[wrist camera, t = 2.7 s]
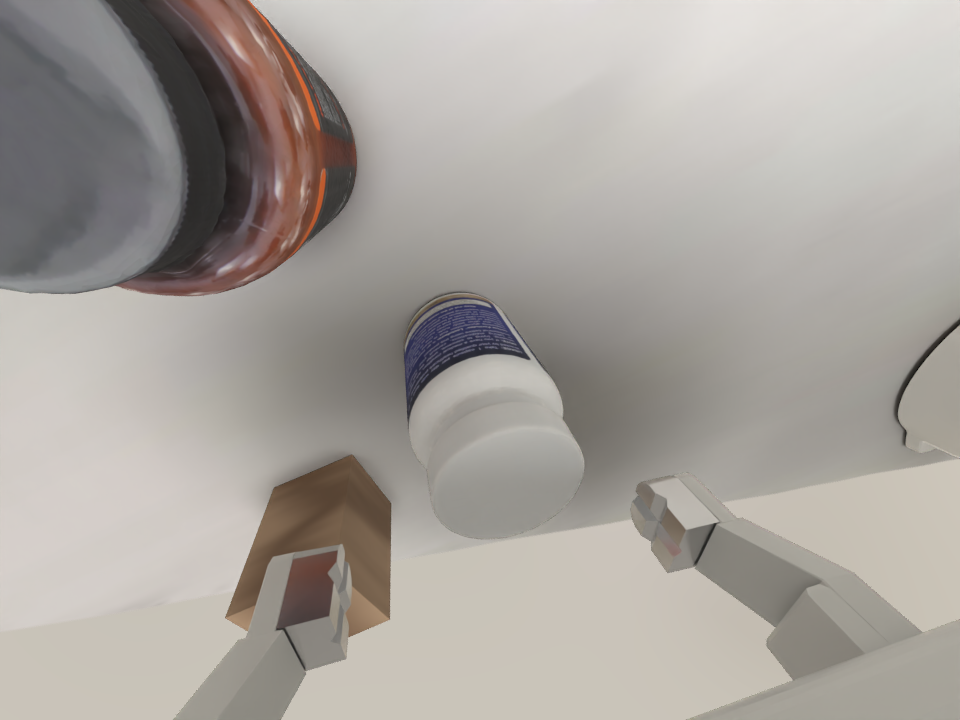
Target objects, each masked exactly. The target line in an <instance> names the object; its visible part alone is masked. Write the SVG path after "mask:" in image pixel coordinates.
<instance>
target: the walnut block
mask: <svg viewBox="0 0 960 720" xmlns="http://www.w3.org/2000/svg"><path fill="white" fill-rule="evenodd" d="M338 544H342V545H343V547H344V550H345V558H344V561H345V562H347V563H349V567H350V571H351V578H352V596H351V605H350V607H349V608H348V610H347V611H346V613H345V615H346V618H347V621H348V624H349V633H348V637H350V636H353V635H355V634H357V633H360V632H362V631H364V630H367V629H369V628H371V627H374V626H376V625H378V624H381V623H383V622H385V621H387V620H390V562H391V503H390V501H389V500H388V499H387V498H386V496H385V495H384V494H383V493H382V491H381V490H380V489H379V488H378V486H377V485H376V484H375V483H374V481H373V480H372V479H371V478H370V476H369V475H368V474H367V473H366V471H365V470H364V469H363V467H362V466H361V465H360V464H359V462H358V461H357V460H356V459H355V457H354V456H353V455H350V456H348V457H346V458H343V459H341V460H338V461H336V462H334V463H331V464H329V465H327V466H324V467H322V468H320V469H317V470H315V471H312V472H310V473H308V474H305V475H303V476H301V477H298V478H296V479H294V480H291V481H289V482H286V483H284V484H282V485H279V486H277V487H275V488H274V489H273V492H272V494H271V497H270V500H269V502H268V505H267V508H266V510H265V513H264V516H263V518H262V521H261V524H260V526H259V529H258V532H257V534H256V537H255V540H254V542H253V545H252V548H251V550H250V553H249V556H248V558H247V561H246V564H245V566H244V569H243V572H242V574H241V577H240V580H239V582H238V585H237V588H236V590H235V593H234V596H233V598H232V601H231V604H230V606H229V609H228V612H227V614H226V617H225V618H226V619H227V620H229V621H231V622H233V623H234V624H236V625H238V626H240V627H241V628H243V629H245V630H246V631H248V629H249V626H250V623H251V620H252V616H253V613H254V610H255V606H256V603H257V600H258V596H259V593H260V590H261V587H262V583H263V580H264V577H265V573H266V570H267V567H268V564H269V563H270V561H271V559H272V558H273V557H274V556H279V555H284V554H289V553H294V552H300V551H306V550H311V549H316V548H322V547H327V546H332V545H338Z"/></svg>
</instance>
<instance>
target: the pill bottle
mask: <svg viewBox="0 0 960 720" xmlns="http://www.w3.org/2000/svg"><path fill="white" fill-rule="evenodd" d="M404 362H405V379H406V397H407V416H408V430H409V437H410V442H411V445H412V449H413V451H414V453H415V455H416V457H417V458H418V460H419V462H420V463H421V464H422V465H423V466H424V468H425V469H426V470H427V477H428V484H429V491H430V497H431V503H432V508H433V510H434V513H435V515H436V517H437V518H438V519H439V521H440V522H441V523H442V524H443V525H444V526H445V527H446V528H448V529H449V530H451V531H452V532H454V533H457V534H459V535H462V536H465V537H469V538H475V539H499V538H505V537H510V536H514V535H517V534H520V533H523V532H526V531H529V530H531V529H534V528H535V527H537V526H539V525H541V524H543V523H544V522H546V521H548V520H549V519H551V518H552V517H554V516H555V515H556V514H557V513H559V512H560V511H561V510H562V509H563V508H564V507H565V506H566V505H567V504H568V503H569V502H570V500H571V499H572V498H573V496H574V495H575V493H576V492H577V490H578V488H579V486H580V484H581V481H582V478H583V475H584V464H585V463H584V458H583V454H582V451H581V449H580V447H579V445H578V444H577V442H576V440H575V438H574V437H573V435H572V433H571V432H570V430H569V428H568V426H567V425H566V423H565V422H564V421H563V404H562V400H561V396H560V393H559V391H558V389H557V387H556V385H555V383H554V381H553V380H552V379H551V377H550V375H549V374H548V372H547V371H546V370H545V369H544V367H543V366H542V364H541V363H540V362H539V360H538V359H537V358H536V356H535V355H534V354H533V352H532V351H531V350H530V348H529V347H528V345H527V344H526V343H525V341H524V340H523V338H522V337H521V336H520V334H519V333H518V331H517V330H516V329H515V327H514V326H513V324H512V323H511V322H510V320H509V319H508V318H507V316H506V315H505V314H504V312H503V311H502V310H501V309H500V308H499V307H498V306H497V305H496V304H494V303H493V302H491V301H490V300H488V299H486V298H484V297H482V296H479V295H475V294H470V293H453V294H448V295H444V296H441V297H439V298H436V299H434V300H432V301H431V302H429V303H428V304H426V305H425V306H424V307H423V308H421V309H420V310H419V311H418V312H417V314H416V315H415V316H414V317H413V319H412V320H411V322H410V324H409V326H408V328H407V331H406V335H405V340H404Z"/></svg>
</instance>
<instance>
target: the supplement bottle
mask: <svg viewBox="0 0 960 720" xmlns="http://www.w3.org/2000/svg"><path fill="white" fill-rule="evenodd" d="M356 165H357V159H356V149H355V142H354V137H353V133H352V130H351V127H350V125H349V122H348V120H347V118H346V116H345V113H344V112H343V110H342V108H341V106H340V104H339V102H338V101H337V99H336V97H335V96H334V94H333V93H332V91H331V90H330V89H329V87H328V86H327V85H326V83H325V82H324V81H323V80H322V79H321V78H320V76H319V75H318V74H317V73H316V72H315V71H314V70H313V69H312V67H310V66H309V65H308V63H307V62H306V61H305V60H304V59H303V58H302V57H301V56H300V54H299V53H298V52H297V51H296V50H295V49H294V48H293V47H292V46H291V45H290V44H289V43H288V42H287V41H286V40H285V39H284V37H283V36H282V35H281V34H280V33H279V32H278V31H277V30H276V29H275V28H274V27H273V26H272V24H271V23H270V22H269V21H268V20H267V19H266V18H265V17H264V16H263V15H262V14H261V13H260V12H259V11H258V10H257V9H256V8H255V7H254V6H253V4H252V3H251V2H250V1H249V0H0V288H1V289H7V290H13V291H19V292H25V293H50V294H76V293H82V292H88V291H93V290H98V289H103V288H108V287H112V286H118V287H121V288H124V289H127V290H133V291H137V292H142V293H147V294H158V295H173V296H202V295H208V294H217V293H221V292H224V291H228V290H231V289H235V288H238V287H241V286H244V285H246V284H248V283H250V282H253V281H255V280H257V279H259V278H261V277H263V276H265V275H267V274H268V273H270V272H271V271H273V270H274V269H276V268H277V267H278V266H280V265H281V264H282V263H283V262H285V261H286V260H287V259H288V258H290V257H292V256H293V255H294V254H295V253H296V252H297V251H298V250H299V249H300V248H301V247H302V246H304V245H305V244H306V243H307V242H308V241H310V240H311V239H312V238H313V237H314V236H315V235H316V234H317V233H318V232H320V231H321V230H322V229H323V228H324V227H325V226H326V225H327V224H329V223H330V222H331V221H332V220H333V219H334V218H335V217H336V216H337V215H338V214H339V212H340V211H341V210H342V209H343V207H344V206H345V205H346V203H347V201H348V199H349V197H350V195H351V192H352V189H353V186H354V181H355V176H356Z"/></svg>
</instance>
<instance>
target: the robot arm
mask: <svg viewBox="0 0 960 720" xmlns="http://www.w3.org/2000/svg"><path fill="white" fill-rule="evenodd" d="M898 418H899V421H900V424H901V425H902V426H903V427H904V428H905V429H906V431H907V436H906V443H905V444H906V447H907V448H910V449H912V450H914V451H916V452H918V453H926V452H929V451H932V450H935V449H939V450H941V451H943V452H946V453H948V454H950V455H952V456H954V457H956V458H959V459H960V325H959V326H958V327H957V328H956V329H955V330H954V331H953V332H952V333H951V334H949V335H948V336H947V337H946V338H945V339H944V340H943V341H942V342H941V343H940V344H939V345H938V346H937V348H936V349H935V350H934V351H933V352H932V353H931V354H930V355H929V357H928V358H927V359H926V360H925V361H924V363H923V364H922V365H921V366H920V368H919V369H918V370H917V372H916V373H915V375H914V376H913V378H912V379H911V381H910V383H909V384H908V386H907V388H906V390H905V392H904V394H903V396H902V399H901V401H900V405H899V410H898ZM636 492H637V494H638V495H639V496H638V497H637V498H636V499H635V500H634V501H633V502H632V506H631V516H632V520H633V522H634V525H635V527H636V528H637V530H638V531H639V533H640V534H641V536H643V537H645V538H646V539H648V540H649V541H651V550H652V552H653V553H654V554H655V556H656V557H657V558H658V560H659V562H660V563H661V564H662V566H663V567H664V569H665V570H666V572H667V573H670V572H674V571H679V570H683V569H687V568H692V567H695V569H696V570H698V571H699V572H700V573H702V574H703V575H705V576H706V577H707V578H709V579H710V580H711V581H713V582H714V583H716V584H717V585H718V586H720V587H721V588H722V589H724V590H725V591H727V592H728V593H729V594H731V595H732V596H733V597H735V598H736V599H738V600H739V601H740V602H741V603H743V604H744V605H746V606H747V607H748V608H750V609H751V610H753V611H754V612H755V613H757V614H758V615H759V616H761V617H762V618H764V619H765V620H766V621H768V622H769V623H770V624H772V625H773V626H774V627H776V628H775V629H774V631H773V632H772V633H771V634H770V636H769V637H768V638H767V647H768V649H769V650H770V651H771V653H772V654H773V655H774V656H775V657H776V659H777V660H778V661H779V663H780V664H781V665H782V666H783V668H784V669H785V670H786V672H787V673H788V674H789V675H790V677H791V678H792V679H793V681H790V682H787V683H785V684H782V685H779V686H776V687H774V688H771V689H768V690H766V691H763V692H760V693H757V694H755V695H752V696H749V697H747V698H744V699H741V700H739V701H736V702H733V703H731V704H728V705H725V706H722V707H719V708H717V709H714V710H712V711H709V712H706V713H703V714H701V715H698V716H695V717H693V718H690V719H687V720H960V619H959V620H956V621H953V622H950V623H948V624H945V625H942V626H940V627H937V628H934V629H931V630H929V631H926V632H922V631H921V630H919V629H918V628H917V627H916V626H915V625H913V624H912V623H911V622H910V621H909V620H907V618H905V617H904V616H903V615H902V614H901V613H900V612H898V611H897V610H896V609H895V608H894V607H893V606H891V605H890V604H889V603H888V602H887V601H886V600H884V599H883V598H882V597H881V596H880V595H879V594H878V593H877V592H875V591H874V590H873V589H871V587H870V586H868V585H867V584H866V583H865V582H864V581H863V580H862V579H860V578H859V577H858V576H857V575H856V574H855V573H853V572H851V571H849V570H847V569H845V568H843V567H841V566H839V565H837V564H835V563H833V562H831V561H829V560H827V559H825V558H823V557H821V556H819V555H817V554H815V553H813V552H811V551H809V550H807V549H805V548H803V547H801V546H799V545H796V544H795V543H793V542H790V541H788V540H786V539H784V538H782V537H780V536H778V535H776V534H774V533H772V532H770V531H768V530H766V529H764V528H762V527H760V526H758V525H756V524H754V523H752V522H750V521H748V520H745V519H744V518H736V517H735V516H734V515H733V514H732V513H731V512H730V511H729V510H728V509H727V508H726V507H725V506H724V505H723V504H722V503H721V502H720V501H719V500H718V499H717V498H716V497H715V496H714V495H713V494H712V493H711V492H710V491H709V490H708V489H707V488H706V487H705V486H704V485H703V484H702V483H701V482H700V481H699V480H698V479H697V478H696V477H695V476H694V475H692V474H690V473H681V474H677V475H673V476H665V477H661V478H656V479H652V480H647V481H643V482H641V483H639V484H638V485H637V488H636ZM344 558H345V550H344V547H343V545H342V544H338V545H332V546H327V547H322V548H316V549H311V550H306V551H300V552H294V553H289V554H284V555H279V556H274V557H273V558H272V559H271V561H270V563H269V564H268V567H267V570H266V573H265V577H264V580H263V583H262V587H261V590H260V593H259V596H258V600H257V603H256V606H255V610H254V613H253V616H252V620H251V623H250V626H249V629H248V633H247V636H246V638H244V639H240V640H238V641H237V642H236V643H235V645H234V646H233V647H232V648H231V649H230V651H229V652H228V653H227V654H226V656H225V657H224V658H223V659H222V661H221V662H220V663H219V664H218V665H217V667H216V668H215V669H214V670H213V671H212V673H211V674H210V675H209V676H208V678H207V679H206V680H205V681H204V683H203V684H202V685H201V686H200V688H199V689H198V690H197V691H196V692H195V693H194V695H193V696H192V697H191V698H190V700H189V701H188V702H187V703H186V705H185V706H184V707H183V708H182V709H181V711H180V712H179V713H178V714H177V715H176V717H175V718H174V719H173V720H281V718H282V717H283V715H284V713H285V711H286V709H287V707H288V706H289V704H290V702H291V700H292V698H293V697H294V695H295V693H296V691H297V690H298V688H299V686H300V684H301V682H302V680H303V679H304V677H305V675H306V672H305V671H307V670H311V669H314V668H318V667H321V666H324V665H327V664H331V663H334V662H338V661H341V660H345V659H346V656H347V645H348V633H349V624H348V621H347V618H346V615H345V613H346V611H347V610H348V608H349V607H350V605H351V596H352V578H351V571H350V567H349V563H347V562H345V561H344Z"/></svg>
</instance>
